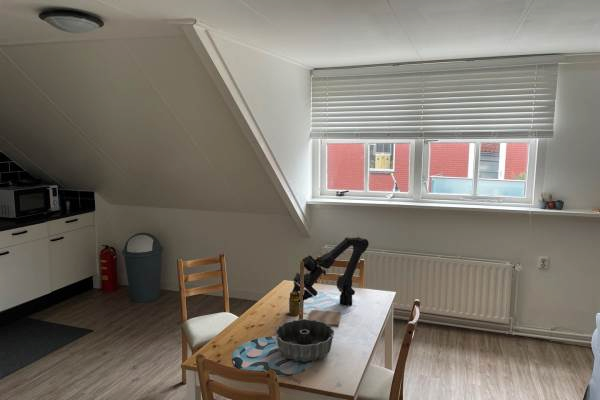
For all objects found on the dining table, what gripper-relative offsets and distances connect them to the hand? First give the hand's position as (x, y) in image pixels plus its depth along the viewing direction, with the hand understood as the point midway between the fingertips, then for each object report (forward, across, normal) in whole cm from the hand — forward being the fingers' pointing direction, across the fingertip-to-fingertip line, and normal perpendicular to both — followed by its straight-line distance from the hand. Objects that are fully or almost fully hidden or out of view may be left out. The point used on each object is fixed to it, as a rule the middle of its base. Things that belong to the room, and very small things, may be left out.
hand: (295, 298), depth 236 cm
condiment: (+7, 0, +6) cm, 9 cm away
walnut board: (-2, +12, +14) cm, 19 cm away
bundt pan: (+17, +38, -4) cm, 42 cm away
